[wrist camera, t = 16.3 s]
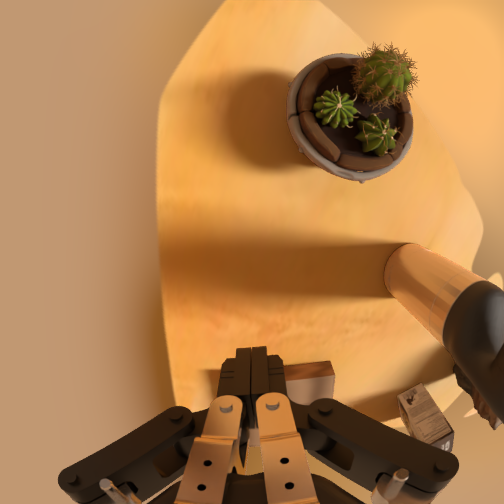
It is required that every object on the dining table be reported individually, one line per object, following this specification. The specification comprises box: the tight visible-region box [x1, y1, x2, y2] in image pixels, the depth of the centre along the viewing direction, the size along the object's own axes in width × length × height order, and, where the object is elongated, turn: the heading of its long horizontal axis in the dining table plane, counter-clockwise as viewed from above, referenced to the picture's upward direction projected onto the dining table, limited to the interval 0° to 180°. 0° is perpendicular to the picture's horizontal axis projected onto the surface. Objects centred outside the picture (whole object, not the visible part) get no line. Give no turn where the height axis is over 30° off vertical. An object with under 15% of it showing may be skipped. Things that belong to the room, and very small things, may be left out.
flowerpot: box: [286, 45, 417, 183], centre depth 26 cm, size 14×15×20 cm
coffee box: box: [397, 383, 454, 452], centre depth 41 cm, size 9×6×16 cm
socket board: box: [249, 361, 335, 447], centre depth 46 cm, size 18×18×4 cm
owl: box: [453, 362, 502, 430], centre depth 36 cm, size 13×13×20 cm
